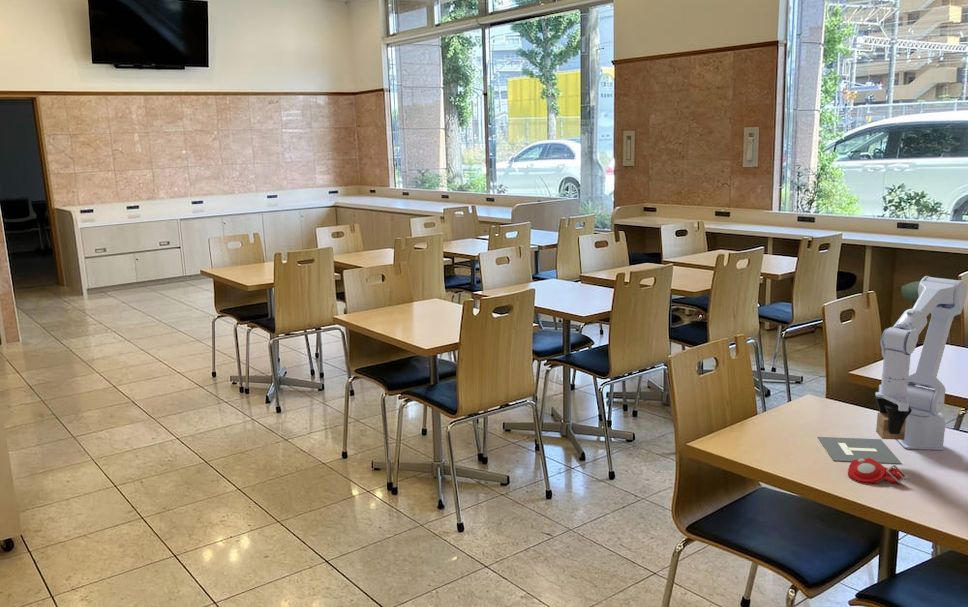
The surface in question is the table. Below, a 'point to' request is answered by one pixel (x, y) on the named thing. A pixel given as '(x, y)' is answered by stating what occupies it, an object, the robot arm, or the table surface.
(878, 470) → the tracker holder
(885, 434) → the walnut cube
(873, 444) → the letter mat
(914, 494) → the table surface
